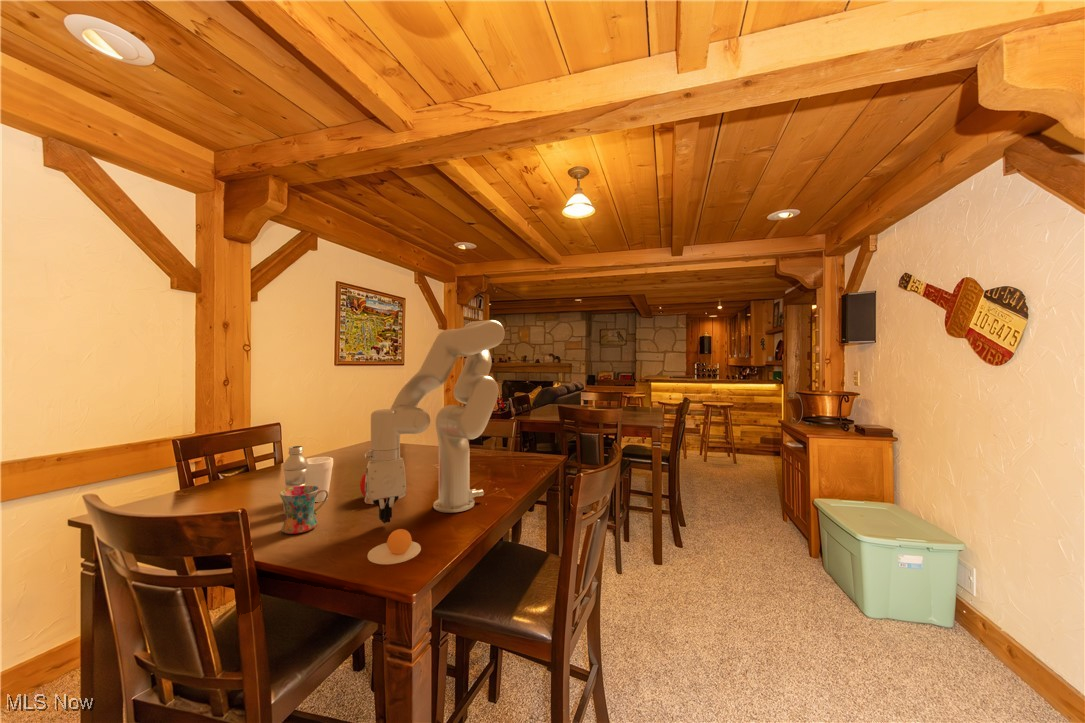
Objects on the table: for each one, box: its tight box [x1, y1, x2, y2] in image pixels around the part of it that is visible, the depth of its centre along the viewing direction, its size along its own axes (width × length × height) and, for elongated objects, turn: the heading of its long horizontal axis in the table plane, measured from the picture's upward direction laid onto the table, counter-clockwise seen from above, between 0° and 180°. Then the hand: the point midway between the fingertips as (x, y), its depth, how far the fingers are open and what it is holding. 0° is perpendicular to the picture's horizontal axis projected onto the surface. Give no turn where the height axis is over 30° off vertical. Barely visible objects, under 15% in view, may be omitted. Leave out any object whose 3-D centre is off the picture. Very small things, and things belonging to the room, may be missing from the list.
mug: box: [278, 485, 329, 535], centre depth 113 cm, size 12×9×11 cm
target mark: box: [367, 540, 422, 566], centre depth 99 cm, size 12×12×1 cm
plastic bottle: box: [282, 445, 308, 514], centre depth 123 cm, size 6×7×20 cm
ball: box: [386, 528, 413, 554], centre depth 98 cm, size 6×6×6 cm
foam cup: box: [306, 456, 334, 503], centre depth 136 cm, size 10×9×13 cm
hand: (385, 521), depth 114 cm, fingers closed
